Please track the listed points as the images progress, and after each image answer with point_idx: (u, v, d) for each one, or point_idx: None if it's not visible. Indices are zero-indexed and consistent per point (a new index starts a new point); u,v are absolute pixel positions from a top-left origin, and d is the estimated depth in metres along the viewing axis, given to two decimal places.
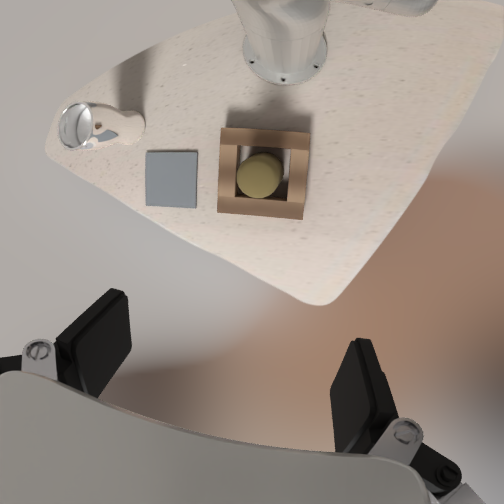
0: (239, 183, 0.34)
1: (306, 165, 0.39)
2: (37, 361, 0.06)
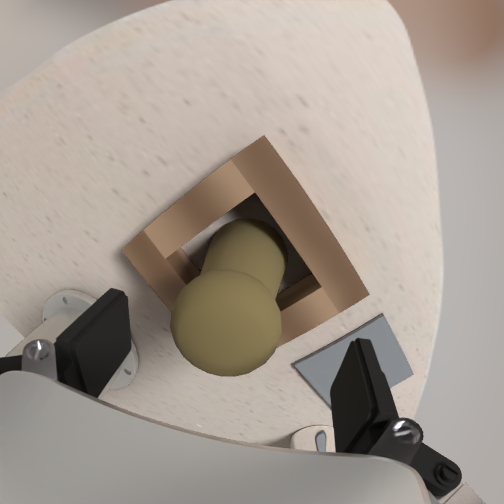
0: (263, 362, 0.12)
1: (166, 213, 0.18)
2: (37, 361, 0.06)
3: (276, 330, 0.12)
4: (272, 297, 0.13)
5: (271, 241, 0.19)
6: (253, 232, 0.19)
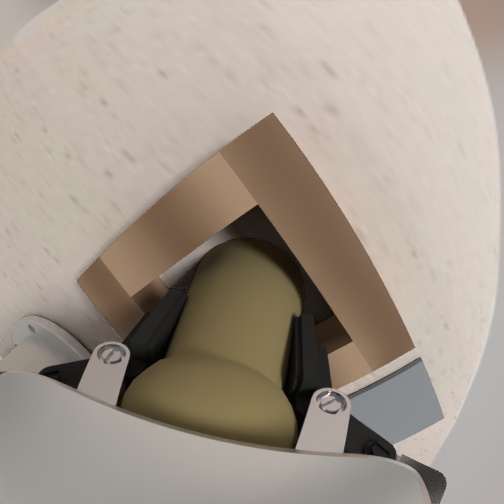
0: None
1: (127, 234, 0.12)
2: (106, 364, 0.07)
3: None
4: (285, 408, 0.06)
5: (283, 275, 0.13)
6: (255, 263, 0.13)
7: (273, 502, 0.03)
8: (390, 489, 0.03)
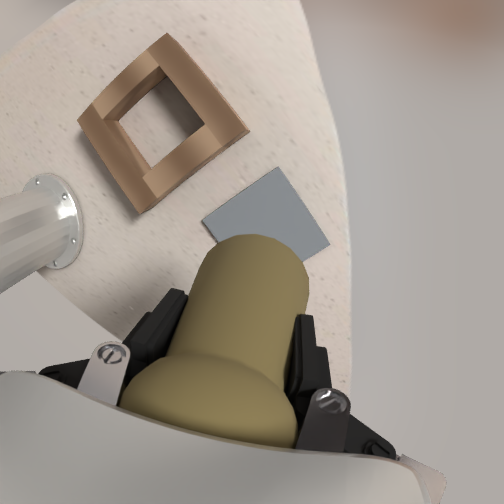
0: None
1: (106, 89, 0.22)
2: (106, 364, 0.07)
3: None
4: (285, 410, 0.06)
5: (287, 272, 0.13)
6: (259, 259, 0.12)
7: (273, 502, 0.03)
8: (390, 489, 0.03)
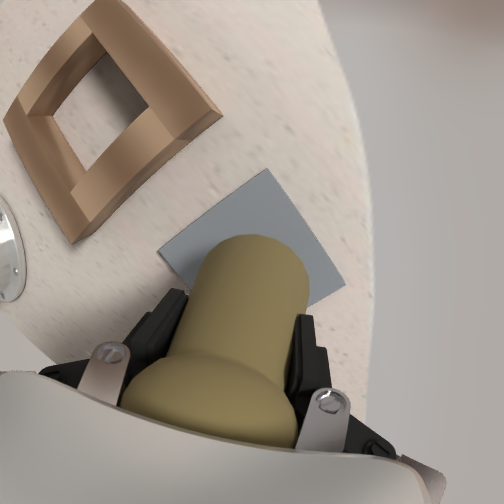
0: None
1: (32, 74, 0.13)
2: (106, 364, 0.07)
3: None
4: (285, 410, 0.06)
5: (288, 272, 0.13)
6: (259, 259, 0.12)
7: (273, 502, 0.03)
8: (390, 489, 0.03)
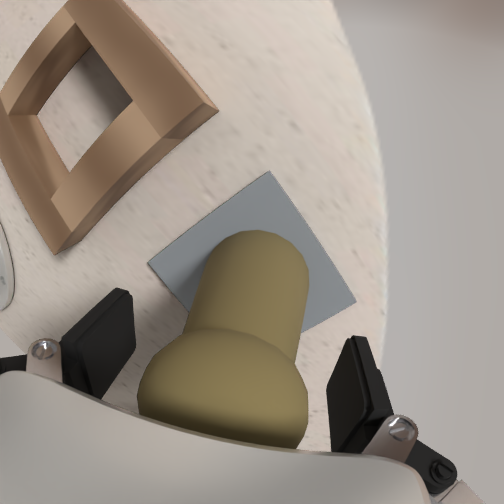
0: None
1: (14, 71, 0.11)
2: (42, 360, 0.06)
3: (301, 428, 0.07)
4: (296, 376, 0.07)
5: (289, 263, 0.14)
6: (263, 251, 0.13)
7: (273, 502, 0.03)
8: (390, 489, 0.03)
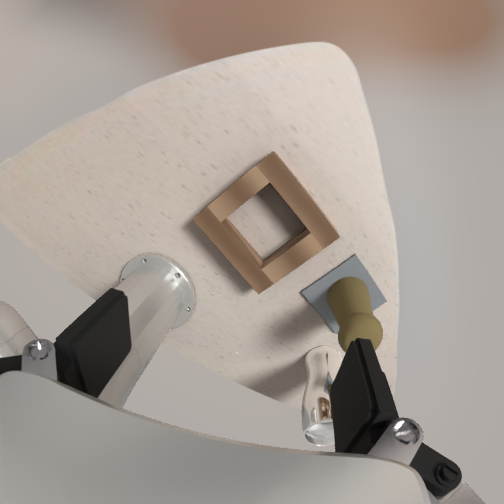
0: (376, 347, 0.29)
1: (221, 196, 0.34)
2: (37, 361, 0.06)
3: (382, 334, 0.29)
4: None
5: (365, 289, 0.36)
6: (356, 286, 0.36)
7: (273, 502, 0.03)
8: (390, 489, 0.03)
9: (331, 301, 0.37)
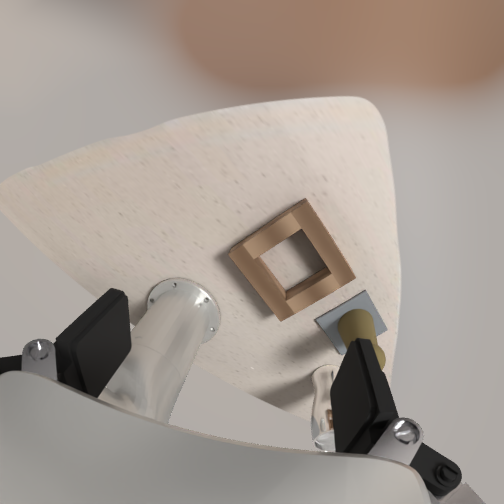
0: None
1: (256, 236, 0.38)
2: (37, 361, 0.06)
3: None
4: (383, 351, 0.34)
5: (371, 321, 0.41)
6: (364, 318, 0.41)
7: (273, 502, 0.03)
8: (390, 489, 0.03)
9: (342, 329, 0.42)
